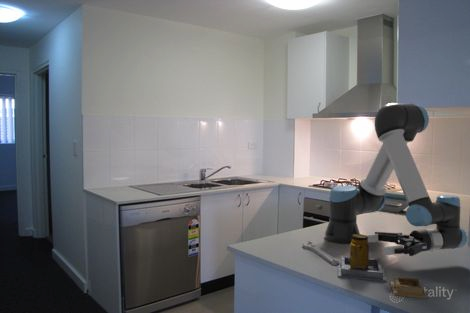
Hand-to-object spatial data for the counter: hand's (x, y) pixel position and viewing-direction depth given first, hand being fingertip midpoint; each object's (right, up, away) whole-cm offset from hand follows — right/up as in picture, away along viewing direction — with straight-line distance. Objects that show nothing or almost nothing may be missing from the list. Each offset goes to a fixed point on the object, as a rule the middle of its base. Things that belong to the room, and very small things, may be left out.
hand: (372, 244), depth 130 cm
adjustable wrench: (-15, -8, +18) cm, 25 cm away
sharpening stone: (+46, -2, +97) cm, 108 cm away
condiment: (-4, -9, -1) cm, 10 cm away
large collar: (-4, -9, 0) cm, 10 cm away
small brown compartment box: (+5, -10, -16) cm, 19 cm away
